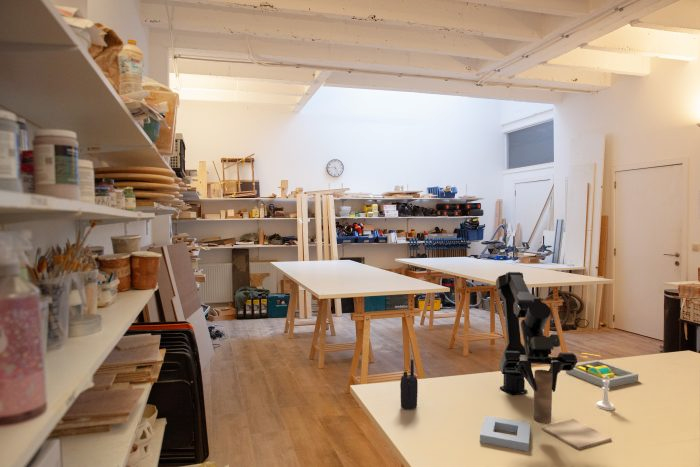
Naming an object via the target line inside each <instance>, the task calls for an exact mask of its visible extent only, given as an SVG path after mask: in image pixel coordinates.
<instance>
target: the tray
mask: <svg viewBox="0 0 700 467" xmlns="http://www.w3.org/2000/svg"><path fill="white" fill-rule="evenodd" d="M583 365H590V366H593V367H598V366H607V367H608V368H610V370H611V371H612V373H614V375H616V376H614V378H610V379H607V380H608V381H610V383H609V386H608V388H609V389H610V388H615V387H618V386H622V385H628V384H632V383H636V382H639V373H636V372H633V371H630V370H628V369H624V368H621V367H619V366H615V365H613V364H611V363H608V362H604V361H600V360H598V359H595V360H590V361H585V362H579V363H577V364H576V365H575V367H579V366H583ZM575 367H574V368H573V370H571V371H565V374H568V375H571V376H573V377H575V378H578V379H581V380H584V381H586V382H588V383H591V384H593V385H596V386H598V387H601V388H602V387H604V385H603V382H602V381H603V380H605V379H602V378H600V377H597V376H595V375H592V374H589V373H587V372H584V371H581V370H579V369H576V368H575Z"/></svg>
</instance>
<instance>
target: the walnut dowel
mask: <svg viewBox="0 0 700 467" xmlns="http://www.w3.org/2000/svg"><path fill="white" fill-rule="evenodd" d="M533 376H534V380H535V383H536V391H534V390H533V414H532V415H533V417H532V418H533V419H532V420H533V421H534V422H535V423H537V424H542V425H551V424H552V406H553V404H552V402H553V391H552V372H550V371H549V370H546V369H535V370H534V372H533Z"/></svg>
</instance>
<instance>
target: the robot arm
mask: <svg viewBox="0 0 700 467" xmlns="http://www.w3.org/2000/svg"><path fill="white" fill-rule="evenodd" d="M495 287H496V290H497V292H498V294H497V295H498V296H499V298H500V299H501V301H502V302H503V307H504V310H503V311H504V321H505V322H504V323H505V336H506V345H505V347H504V349H503V351H502V355H501V358H500V360H499V371H500V372H501V374H502V375H503V385H501V386H499V389H500V390H503V391H504V392H505V393H508V394H510V395H512V396H515V395H520V394H521V395H522V394H525V393H528V390H527V389H526V388H525V386H526V381H527V382H528V385H529V386H530V387H531V388H532V390H533V392H534V391H536V383H535V380H534V372H533V370H532V365H533V364H537V365H549V369H548V371H550V372H552V393H553V392H554V393H555V392H556V388H557V381H558V375H559V374H560V372H561V371H562V372H563V371H565V372H566V371H571V370H573V368H574V367H575V365H576V364H578V362H579V361H578V357H577V355H576V354H575V353H574V352H559V354H558V355H557V357H556V356H549V355H551V354H552V351H553V350H554V348H559V347H560V346H561V341H560V337H559V334H550V335H549V336H547V335H545V333H544V328H545V327H546V324H547V323H548V320H549V318H550V315H551V313H552V310H551V308H550V306H548V304H546V303H545V302H543V301H542V300H541V298H538V297H537V296H536V295H534V294H533V293H532V294H531V292H530V291H529V288H528V286H527V284H526V282H525V280H524V275H523V272H520V271H508V272H506V273H505V274H502V275H499V276H498V277H497V278H496V280H495ZM520 319H522V321H521V322H520ZM521 334H522V338H521ZM522 339H523V343H522Z"/></svg>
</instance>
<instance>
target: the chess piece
mask: <svg viewBox="0 0 700 467" xmlns="http://www.w3.org/2000/svg"><path fill="white" fill-rule="evenodd" d="M603 378H605V380H603V381H602V382H603V385H604V387H601V390H603V396H602V400H598V401H597V402H596V407H597V408H599V409H601V410H605V411H606V410H607V411H613V410H615V405H614V404H613V403H611V402H610V400H609V392H608V391H610V388H608V386H609V383H610V381H608V380H607V379H609V378H610V377H607V375H605V377H603Z"/></svg>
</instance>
